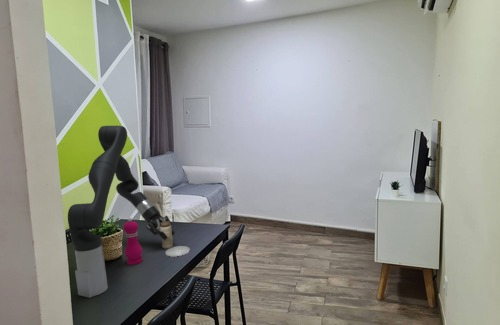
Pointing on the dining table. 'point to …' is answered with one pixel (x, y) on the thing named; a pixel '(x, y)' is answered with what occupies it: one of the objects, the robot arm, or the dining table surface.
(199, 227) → the dining table surface
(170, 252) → the tile
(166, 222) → the salt shaker
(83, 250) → the robot arm
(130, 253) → the pepper mill
